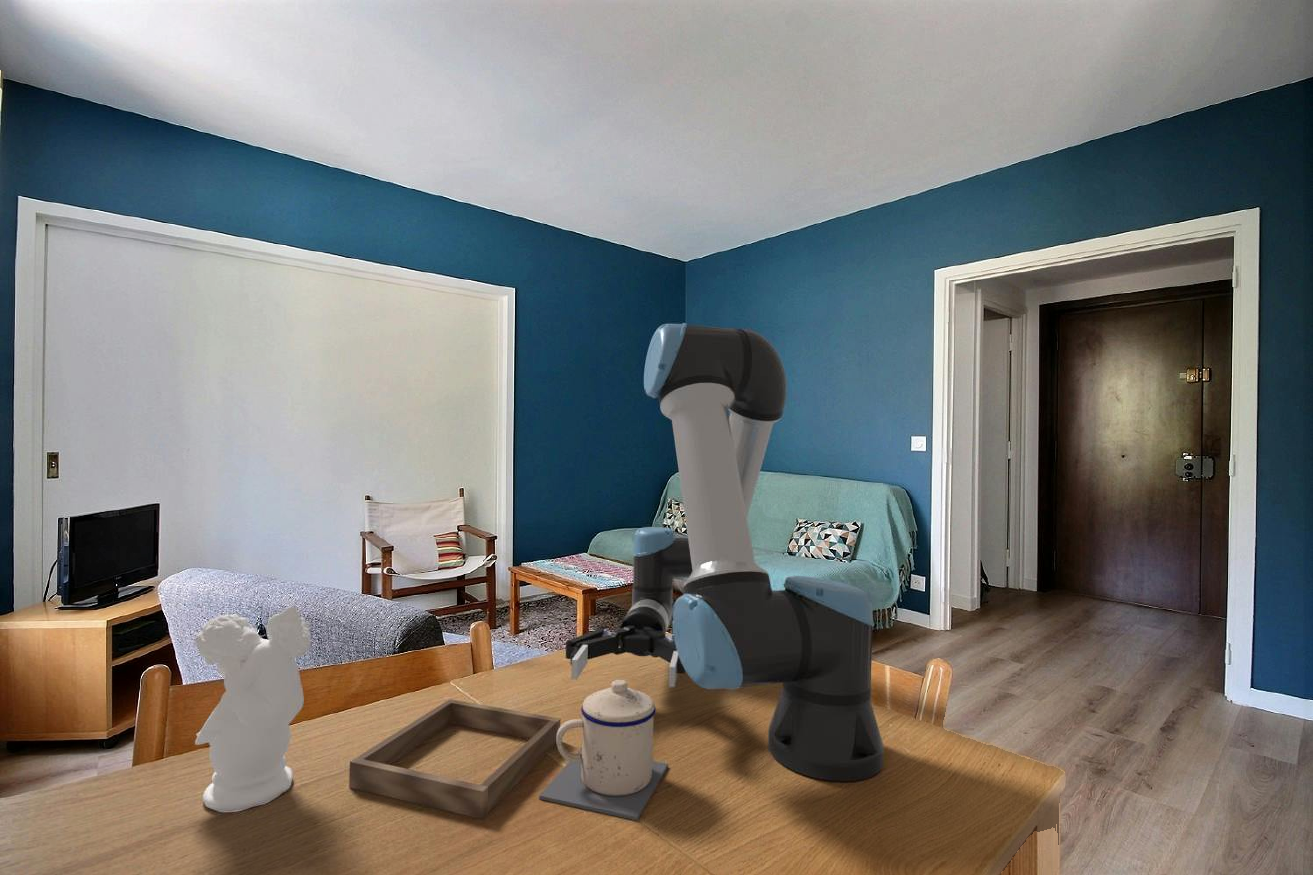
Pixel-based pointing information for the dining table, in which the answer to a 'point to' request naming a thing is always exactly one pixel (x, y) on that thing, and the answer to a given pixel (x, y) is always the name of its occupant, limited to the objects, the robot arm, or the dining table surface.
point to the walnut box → (448, 793)
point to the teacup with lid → (614, 740)
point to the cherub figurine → (252, 707)
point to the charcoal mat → (577, 794)
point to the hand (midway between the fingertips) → (622, 673)
